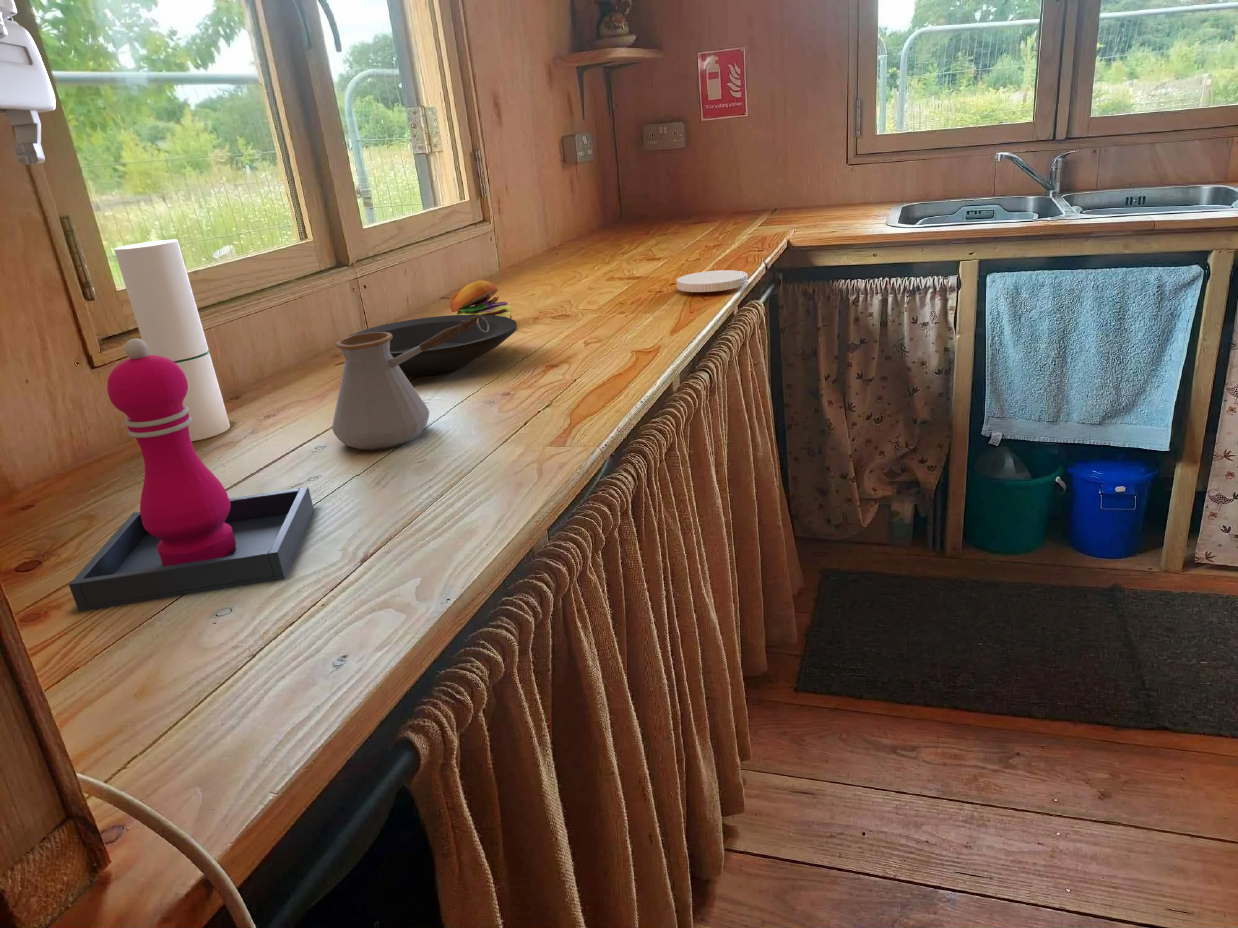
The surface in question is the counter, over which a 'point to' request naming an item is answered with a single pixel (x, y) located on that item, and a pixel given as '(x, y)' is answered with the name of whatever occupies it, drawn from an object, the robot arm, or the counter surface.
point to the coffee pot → (382, 391)
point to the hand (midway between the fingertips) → (8, 166)
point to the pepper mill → (170, 460)
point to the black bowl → (450, 352)
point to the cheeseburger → (479, 300)
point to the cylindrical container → (174, 326)
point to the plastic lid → (712, 281)
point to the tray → (259, 556)
